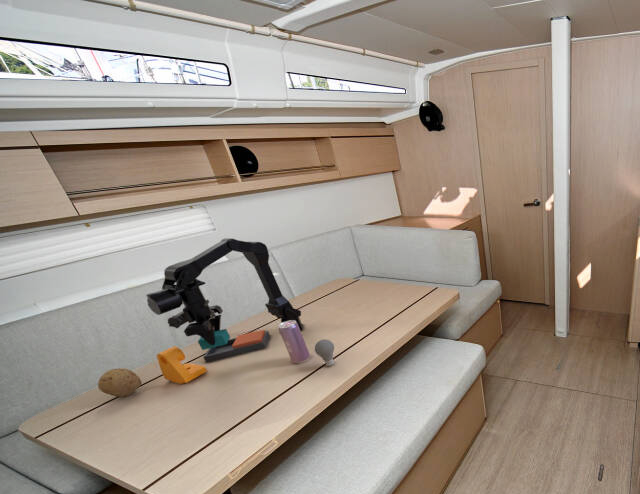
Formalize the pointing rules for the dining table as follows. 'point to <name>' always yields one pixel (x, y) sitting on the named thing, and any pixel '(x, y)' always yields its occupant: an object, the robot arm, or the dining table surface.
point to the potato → (119, 382)
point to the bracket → (178, 366)
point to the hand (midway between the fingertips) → (215, 340)
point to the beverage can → (294, 341)
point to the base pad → (248, 339)
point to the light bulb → (325, 351)
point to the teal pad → (215, 340)
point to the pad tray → (228, 350)
